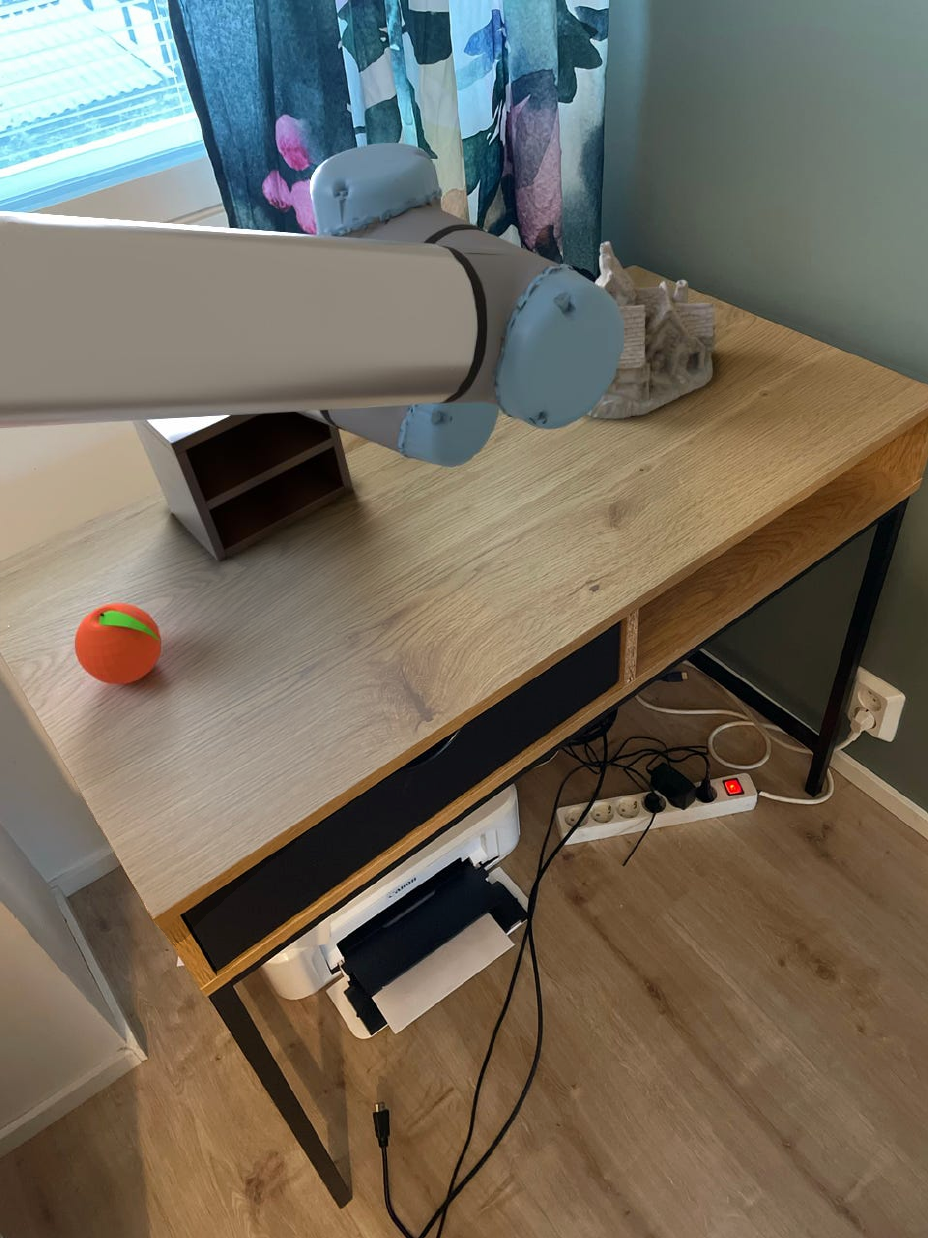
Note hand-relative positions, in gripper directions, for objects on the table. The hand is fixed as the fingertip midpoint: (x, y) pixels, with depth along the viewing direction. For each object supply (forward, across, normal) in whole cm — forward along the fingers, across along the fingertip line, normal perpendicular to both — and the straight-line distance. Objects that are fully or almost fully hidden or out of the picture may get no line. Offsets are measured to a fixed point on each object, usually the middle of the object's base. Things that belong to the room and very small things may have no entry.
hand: (124, 300), depth 78 cm
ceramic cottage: (-27, +42, -24) cm, 56 cm away
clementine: (-12, -19, -23) cm, 32 cm away
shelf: (-4, +4, -23) cm, 24 cm away
